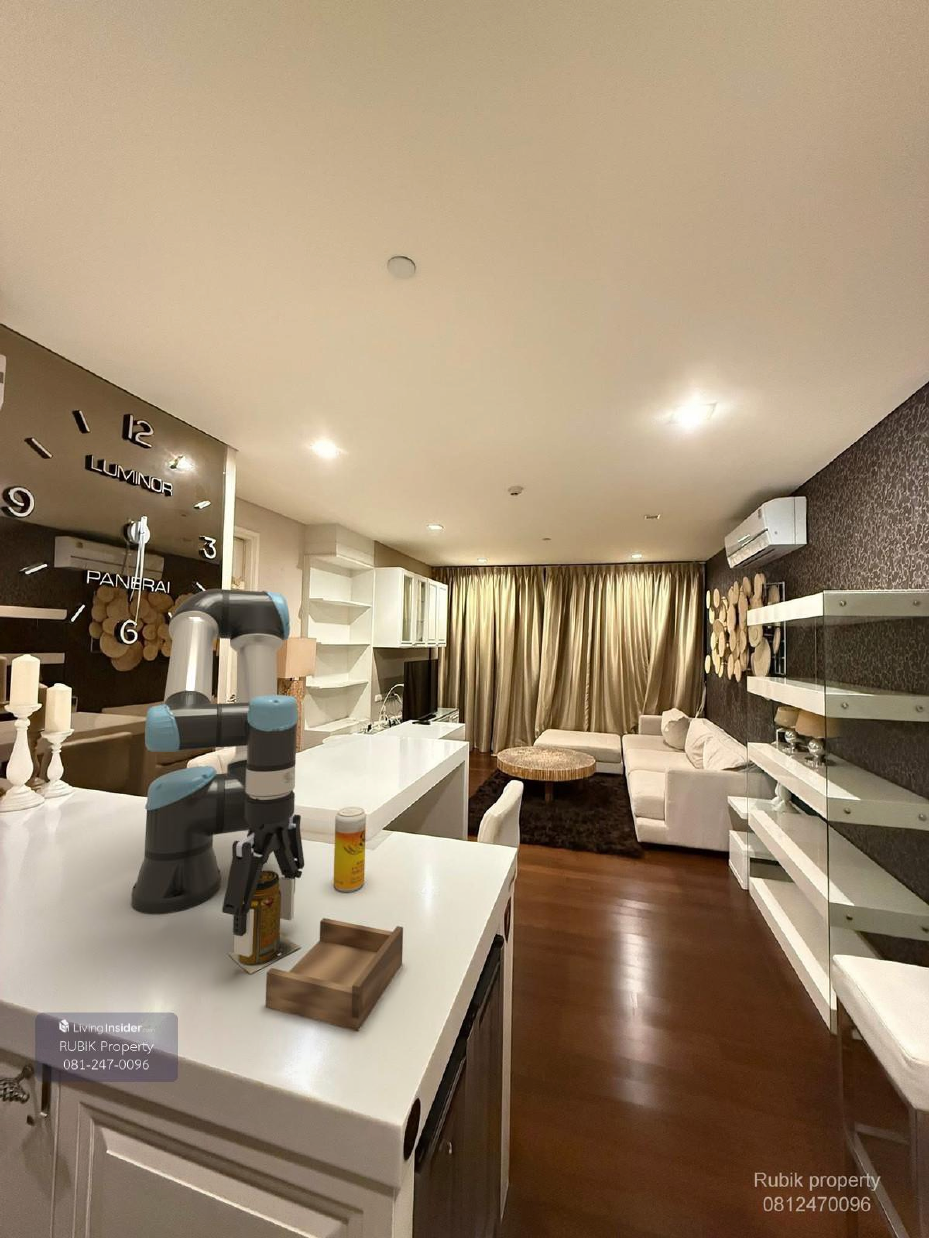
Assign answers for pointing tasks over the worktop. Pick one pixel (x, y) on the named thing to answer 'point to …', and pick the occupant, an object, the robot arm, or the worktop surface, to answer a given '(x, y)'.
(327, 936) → the wooden serving tray
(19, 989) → the worktop surface
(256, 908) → the condiment
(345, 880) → the beer can
